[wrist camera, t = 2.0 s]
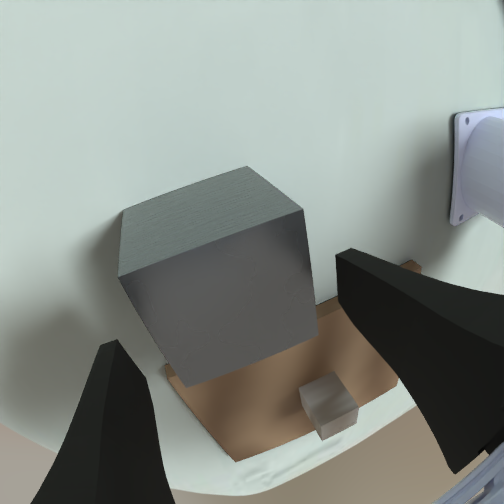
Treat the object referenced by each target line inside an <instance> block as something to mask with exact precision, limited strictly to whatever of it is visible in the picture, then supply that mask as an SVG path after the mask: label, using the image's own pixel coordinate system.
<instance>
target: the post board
mask: <svg viewBox="0 0 504 504" xmlns="http://www.w3.org/2000/svg"><path fill="white" fill-rule="evenodd" d="M400 267H403V268H405V269H408V270H411V271H413V272H416V273H419V274H421V268H422V267H421V266H420V265H418V264H417V263H416V262H414V261H413V260H410V261H408V262H406V263H405V264H403V265H401V266H400ZM316 314H317V324H318V334H319V335H318V336H316V337H313V338H311V339H309V340H307V341H305V342H302V343H300V344H298V345H296V346H293V347H291V348H289V349H287V350H284V351H282V352H280V353H277V354H275V355H273V356H270V357H268V358H265V359H263V360H260V361H258V362H256V363H253V364H251V365H248V366H245V367H243V368H240V369H238V370H235V371H233V372H230V373H227V374H225V375H222V376H219V377H217V378H214V379H211V380H208V381H206V382H203V383H200V384H197V385H194V386H191V387H188V388H186V387H185V386H184V385H183V383H182V382H181V380H180V379H179V377H178V376H177V374H176V373H175V371H174V370H173V368H172V367H171V365H170V364H167V365H165V369H166V375H167V379H168V380H169V382H170V383H171V384H172V386H173V387H174V388H175V390H176V391H177V392H178V394H179V395H180V396H181V398H182V399H183V400H184V402H185V403H186V404H187V406H188V407H189V408H190V409H191V411H192V412H193V413H194V414H195V416H196V417H197V418H198V419H199V421H200V422H201V423H202V424H203V426H204V427H205V428H206V429H207V430H208V432H209V433H210V434H211V435H212V436H213V437H214V439H215V440H216V441H217V442H218V443H219V444H220V446H221V447H222V448H223V449H224V450H225V451H226V452H227V454H228V455H229V456H230V457H231V458H232V459H233V460H234V461H235V462H238V461H241V460H244V459H246V458H249V457H252V456H255V455H257V454H260V453H263V452H265V451H268V450H270V449H273V448H275V447H278V446H280V445H283V444H285V443H287V442H290V441H292V440H294V439H297V438H299V437H301V436H304V435H306V434H308V433H310V432H312V431H314V430H316V431H317V433H318V435H319V436H320V438H321V440H322V441H323V440H325V439H327V438H329V437H331V436H333V435H335V434H337V433H339V432H341V431H343V430H345V429H347V428H349V427H350V426H352V425H354V424H356V423H357V417H358V410H359V408H360V407H361V406H363V405H365V404H367V403H368V402H370V401H372V400H374V399H375V398H377V397H379V396H381V395H382V394H384V393H386V392H387V391H389V390H390V389H392V388H394V387H395V386H397V382H398V379H399V377H398V376H397V375H396V373H395V372H394V371H393V369H392V368H391V367H390V366H389V365H388V364H387V362H386V361H385V360H384V359H383V358H382V357H381V356H380V354H379V353H378V352H377V351H376V350H375V349H374V348H373V347H372V345H371V344H370V343H369V342H368V341H367V340H366V339H365V337H364V336H363V335H362V334H361V333H360V332H359V331H358V329H357V328H356V327H355V326H354V325H353V323H352V322H351V320H350V319H349V317H348V316H347V315H346V313H345V312H344V310H343V308H342V307H341V305H340V304H339V302H338V296H337V297H334V298H332V299H330V300H328V301H326V302H323V303H321V304H319V305H317V306H316Z"/></svg>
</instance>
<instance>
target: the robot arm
mask: <svg viewBox="0 0 504 504" xmlns="http://www.w3.org/2000/svg"><path fill="white" fill-rule="evenodd" d="M477 214H481V215H483V216H485V217H486V218H488V219H490V220H492V221H493V222H495V223H497V224H498V225H500V226H502V227H503V228H504V108H494V109H485V110H477V111H469V112H462V113H458V114H457V115H456V116H455V151H454V175H453V190H452V202H451V212H450V224H451V225H453V226H457V225H459V224H461V223H462V222H464V221H466V220H468V219H470V218H472V217H473V216H475V215H477ZM335 257H336V272H337V291H338V302H339V304H340V305H341V307H342V308H343V310H344V312H345V313H346V315H347V316H348V317H349V319H350V320H351V322H352V323H353V325H354V326H355V327H356V328H357V329H358V331H359V332H360V333H361V334H362V335H363V336H364V337H365V339H366V340H367V341H368V342H369V343H370V344H371V345H372V347H373V348H374V349H375V350H376V351H377V352H378V353H379V354H380V356H381V357H382V358H383V359H384V360H385V361H386V362H387V364H388V365H389V366H390V367H391V368H392V369H393V371H394V372H395V373H396V375H397V376H398V377H399V378H400V380H401V381H402V383H403V384H404V386H405V387H406V389H407V390H408V392H409V393H410V395H411V396H412V398H413V400H414V401H415V403H416V404H417V406H418V408H419V409H420V411H421V413H422V414H423V416H424V418H425V420H426V421H427V423H428V425H429V427H430V429H431V431H432V432H433V434H434V436H435V438H436V440H437V442H438V444H439V446H440V448H441V451H442V453H443V455H444V457H445V459H446V462H447V464H448V467H449V468H450V469H451V471H452V472H453V473H454V474H457V473H458V472H459V471H460V470H462V469H463V468H464V467H465V466H467V465H468V464H469V463H470V462H471V461H472V460H474V459H475V458H476V457H477V456H478V455H479V454H480V453H482V452H483V451H484V450H486V452H487V453H488V454H489V456H488V457H487V458H486V459H485V460H484V461H483V462H482V463H481V464H479V465H478V466H477V467H476V468H475V469H474V470H473V471H472V472H470V473H469V474H468V475H467V476H466V477H465V478H463V479H462V480H461V481H460V482H459V483H458V484H456V485H455V486H454V487H453V488H451V489H450V490H449V491H448V492H446V493H445V494H444V495H442V496H441V497H440V498H439V499H437V500H436V501H434V502H433V503H432V504H465V503H466V502H467V501H468V500H469V499H471V498H472V497H473V496H474V495H475V494H476V493H477V492H479V491H480V490H481V489H482V488H483V487H484V492H482V493H481V494H479V495H478V496H476V497H475V498H473V499H471V500H470V501H469V502H467V503H466V504H504V295H500V294H494V293H488V292H483V291H478V290H473V289H469V288H465V287H461V286H457V285H453V284H450V283H446V282H443V281H440V280H437V279H434V278H431V277H427V276H424V275H422V274H419V273H416V272H413V271H411V270H408V269H405V268H403V267H400V266H397V265H395V264H392V263H390V262H387V261H385V260H382V259H380V258H377V257H374V256H372V255H369V254H367V253H364V252H361V251H358V250H355V249H352V248H350V249H348V250H345V251H343V252H341V253H338V254H336V255H335ZM31 504H175V501H174V499H173V496H172V493H171V490H170V487H169V484H168V481H167V478H166V474H165V471H164V466H163V461H162V456H161V451H160V445H159V439H158V433H157V427H156V420H155V414H154V407H153V403H152V399H151V395H150V391H149V388H148V384H147V380H146V377H145V376H144V375H143V374H142V372H141V371H140V370H139V368H138V367H137V366H136V364H135V363H134V362H133V360H132V359H131V358H130V356H129V355H128V354H127V352H126V351H125V350H124V348H123V347H122V345H121V344H120V343H119V341H118V340H114V341H111V342H108V343H105V344H103V345H100V348H99V350H98V352H97V355H96V358H95V360H94V363H93V366H92V368H91V371H90V374H89V377H88V379H87V382H86V385H85V388H84V390H83V393H82V396H81V399H80V402H79V404H78V407H77V409H76V412H75V414H74V417H73V419H72V422H71V424H70V427H69V430H68V432H67V435H66V437H65V439H64V442H63V444H62V446H61V448H60V450H59V452H58V455H57V457H56V459H55V461H54V463H53V465H52V467H51V469H50V471H49V472H48V474H47V476H46V478H45V480H44V482H43V483H42V486H41V487H40V489H39V491H38V492H37V494H36V496H35V497H34V499H33V501H32V502H31Z"/></svg>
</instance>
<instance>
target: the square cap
mask: <svg viewBox="0 0 504 504" xmlns="http://www.w3.org/2000/svg"><path fill="white" fill-rule="evenodd" d="M118 279H119V280H120V282H121V284H122V286H123V288H124V290H125V291H126V293H127V295H128V297H129V298H130V300H131V302H132V304H133V306H134V307H135V309H136V311H137V312H138V314H139V316H140V318H141V319H142V321H143V323H144V324H145V326H146V328H147V329H148V331H149V332H150V334H151V336H152V337H153V339H154V341H155V342H156V344H157V345H158V347H159V349H160V350H161V352H162V353H163V355H164V356H165V358H166V359H167V361H168V362H169V364H170V365H171V367H172V368H173V370H174V371H175V373H176V374H177V376H178V377H179V379H180V380H181V382H182V383H183V385H184V386H185V387H186V388H188V387H191V386H194V385H197V384H200V383H203V382H206V381H208V380H211V379H214V378H217V377H219V376H222V375H225V374H227V373H230V372H233V371H235V370H238V369H240V368H243V367H245V366H248V365H251V364H253V363H256V362H258V361H260V360H263V359H265V358H268V357H270V356H273V355H275V354H277V353H280V352H282V351H284V350H287V349H289V348H291V347H293V346H296V345H298V344H300V343H302V342H305V341H307V340H309V339H311V338H313V337H316V336H318V335H319V334H318V324H317V314H316V305H315V296H314V287H313V278H312V270H311V262H310V254H309V247H308V239H307V232H306V225H305V218H304V211H303V208H301V207H300V206H299V205H298V204H296V203H295V202H294V201H293V200H291V199H290V198H289V197H287V196H286V195H285V194H284V193H282V192H281V191H280V190H279V189H277V188H276V187H275V186H273V185H272V184H271V183H269V182H268V181H267V180H265V179H264V178H263V177H262V176H260V175H259V174H258V173H256V172H255V171H254V170H252V169H251V168H250V167H248V166H246V167H243V168H239V169H236V170H233V171H230V172H227V173H224V174H221V175H218V176H215V177H212V178H209V179H206V180H203V181H200V182H197V183H194V184H191V185H189V186H186V187H183V188H180V189H177V190H175V191H172V192H169V193H166V194H164V195H161V196H158V197H156V198H153V199H150V200H148V201H145V202H142V203H140V204H137V205H135V206H132V207H130V208H127V209H125V210H123V218H122V227H121V238H120V250H119V265H118Z"/></svg>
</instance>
